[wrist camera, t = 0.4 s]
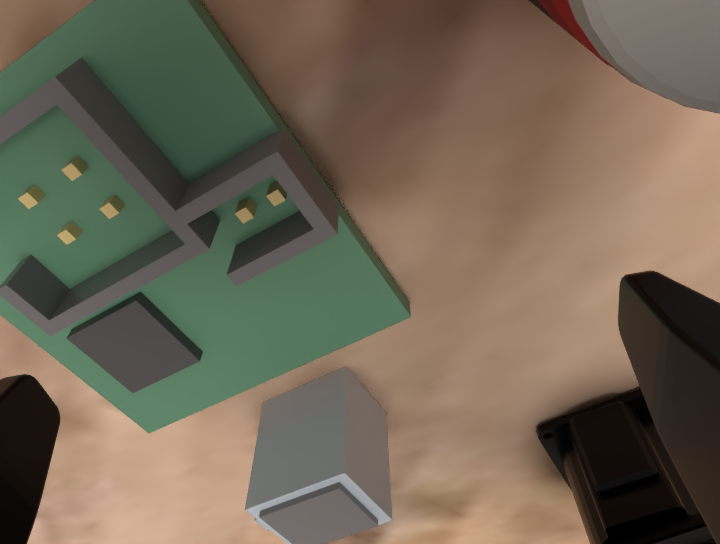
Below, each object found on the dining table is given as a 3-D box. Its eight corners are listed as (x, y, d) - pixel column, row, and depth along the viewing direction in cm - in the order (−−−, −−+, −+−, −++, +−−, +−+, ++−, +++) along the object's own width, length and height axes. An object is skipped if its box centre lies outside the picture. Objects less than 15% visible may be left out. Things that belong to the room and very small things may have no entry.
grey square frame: (220, 220, 22) (209, 249, 20) (70, 304, 24) (50, 336, 23) (81, 57, 18) (54, 76, 17) (-79, 174, 21) (-115, 201, 19)
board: (413, 300, 25) (419, 347, 23) (154, 417, 30) (136, 467, 27) (169, -54, 17) (138, -41, 15) (-136, 179, 22) (-198, 219, 19)
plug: (386, 413, 30) (392, 526, 25) (296, 448, 32) (284, 562, 26) (346, 366, 28) (344, 479, 23) (252, 406, 30) (230, 521, 24)
